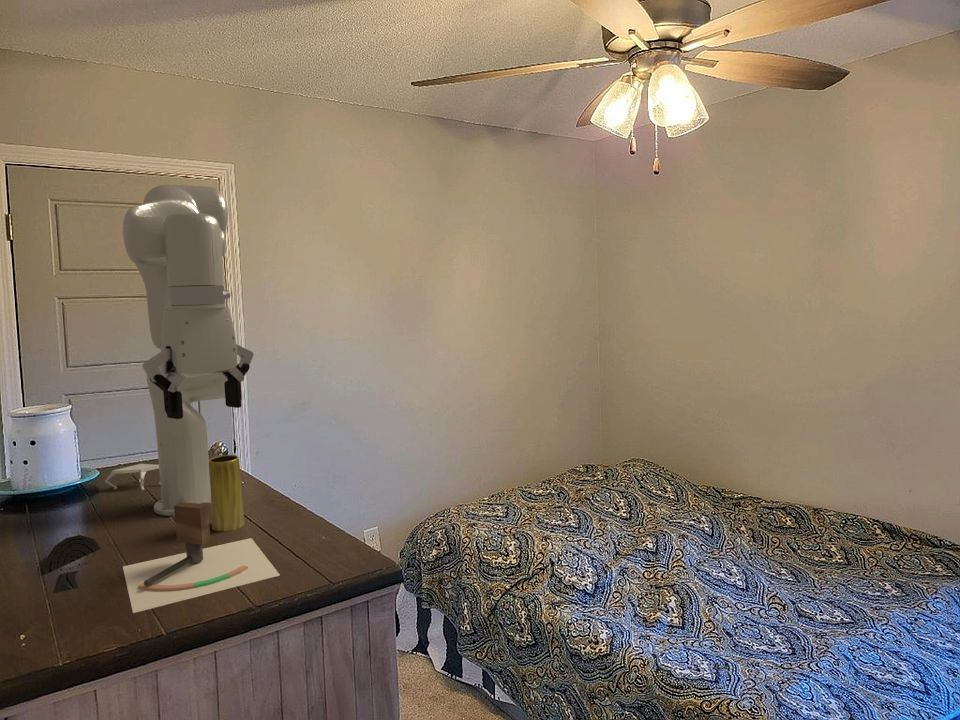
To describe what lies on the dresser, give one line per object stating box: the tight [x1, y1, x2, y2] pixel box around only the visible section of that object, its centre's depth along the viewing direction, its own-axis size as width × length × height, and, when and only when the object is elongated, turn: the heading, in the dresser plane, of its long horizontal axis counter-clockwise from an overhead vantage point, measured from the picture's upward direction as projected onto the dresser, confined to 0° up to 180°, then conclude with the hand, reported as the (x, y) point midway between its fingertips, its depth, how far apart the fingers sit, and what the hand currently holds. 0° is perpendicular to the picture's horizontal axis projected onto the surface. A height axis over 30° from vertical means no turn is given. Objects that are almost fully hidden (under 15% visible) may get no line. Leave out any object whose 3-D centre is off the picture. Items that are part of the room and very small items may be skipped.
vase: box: [209, 454, 245, 532], centre depth 120 cm, size 6×6×14 cm
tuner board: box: [122, 537, 281, 614], centre depth 102 cm, size 18×20×2 cm
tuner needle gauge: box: [144, 502, 211, 586], centre depth 100 cm, size 11×5×9 cm, turn 163°
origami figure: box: [104, 463, 161, 491], centre depth 151 cm, size 12×8×5 cm
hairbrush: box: [43, 531, 101, 594], centre depth 103 cm, size 8×4×25 cm
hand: (205, 412), depth 98 cm, fingers open, 9 cm apart
